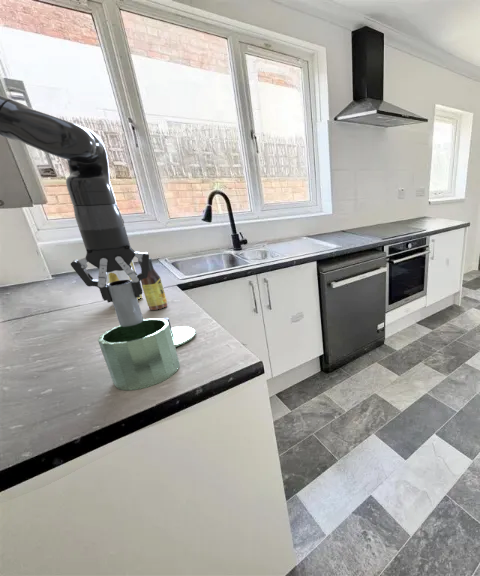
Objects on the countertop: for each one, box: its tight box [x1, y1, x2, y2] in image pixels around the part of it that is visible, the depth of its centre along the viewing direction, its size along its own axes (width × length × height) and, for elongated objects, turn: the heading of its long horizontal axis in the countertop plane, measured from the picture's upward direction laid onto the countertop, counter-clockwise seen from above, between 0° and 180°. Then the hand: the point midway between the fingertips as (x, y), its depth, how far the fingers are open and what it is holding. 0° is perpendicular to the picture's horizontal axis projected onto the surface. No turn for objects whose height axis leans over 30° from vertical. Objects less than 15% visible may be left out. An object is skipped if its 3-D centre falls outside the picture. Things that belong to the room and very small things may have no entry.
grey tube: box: [106, 280, 144, 327], centre depth 73 cm, size 4×4×10 cm
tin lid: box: [161, 317, 196, 348], centre depth 95 cm, size 15×15×7 cm
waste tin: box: [97, 317, 181, 391], centre depth 78 cm, size 14×14×12 cm
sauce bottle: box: [137, 257, 168, 311], centre depth 119 cm, size 7×6×20 cm
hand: (124, 298), depth 73 cm, fingers closed on grey tube, 4 cm apart
